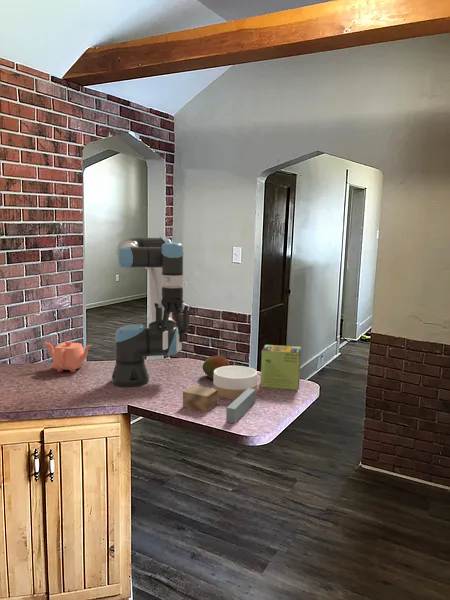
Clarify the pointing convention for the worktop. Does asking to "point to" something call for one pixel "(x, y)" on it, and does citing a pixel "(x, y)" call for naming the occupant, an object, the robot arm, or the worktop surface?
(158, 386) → the worktop surface
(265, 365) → the protein box
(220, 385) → the bowl
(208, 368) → the fruit
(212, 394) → the walnut block
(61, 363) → the teapot
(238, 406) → the grey long rectangular bar
